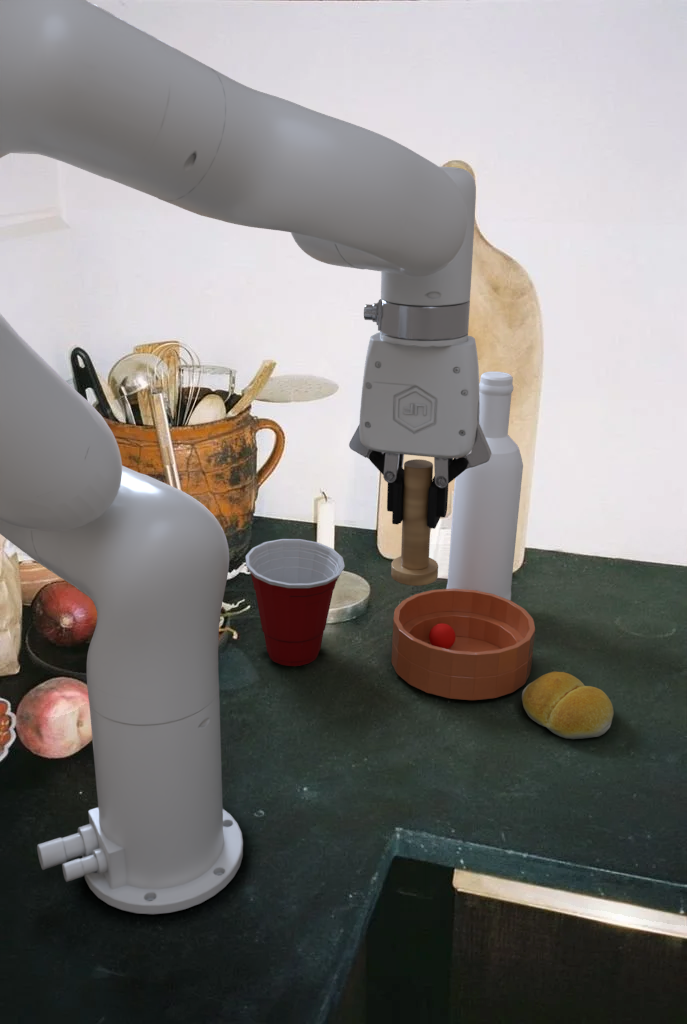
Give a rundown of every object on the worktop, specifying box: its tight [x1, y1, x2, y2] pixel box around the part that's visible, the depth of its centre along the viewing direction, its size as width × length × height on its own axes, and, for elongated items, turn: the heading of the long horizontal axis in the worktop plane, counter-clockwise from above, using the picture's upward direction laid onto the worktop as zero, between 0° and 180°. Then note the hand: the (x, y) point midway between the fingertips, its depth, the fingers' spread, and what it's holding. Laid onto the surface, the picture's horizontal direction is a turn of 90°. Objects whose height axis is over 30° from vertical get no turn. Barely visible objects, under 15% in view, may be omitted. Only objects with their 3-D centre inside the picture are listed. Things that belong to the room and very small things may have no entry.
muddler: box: [390, 458, 439, 587], centre depth 86 cm, size 4×4×11 cm
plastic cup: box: [245, 538, 346, 667], centre depth 104 cm, size 11×11×12 cm
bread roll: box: [521, 671, 615, 740], centre depth 95 cm, size 8×9×4 cm
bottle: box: [445, 371, 524, 601], centre depth 111 cm, size 8×8×30 cm
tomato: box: [429, 623, 456, 649], centre depth 106 cm, size 3×3×3 cm
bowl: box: [391, 588, 536, 701], centre depth 103 cm, size 15×15×6 cm
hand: (416, 519), depth 86 cm, fingers closed on muddler, 2 cm apart
